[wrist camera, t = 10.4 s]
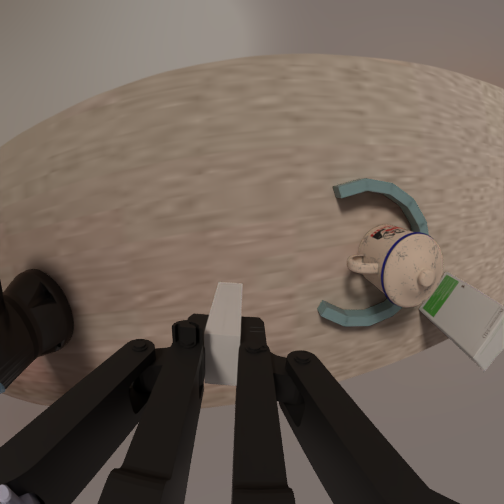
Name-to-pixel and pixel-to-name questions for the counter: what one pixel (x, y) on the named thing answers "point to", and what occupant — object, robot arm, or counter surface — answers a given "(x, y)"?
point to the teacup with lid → (399, 264)
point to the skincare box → (467, 318)
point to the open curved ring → (417, 225)
